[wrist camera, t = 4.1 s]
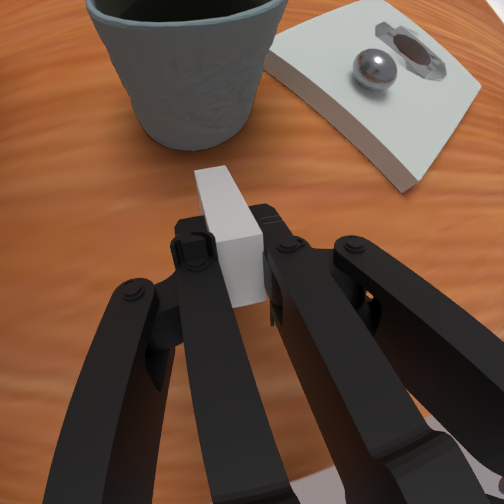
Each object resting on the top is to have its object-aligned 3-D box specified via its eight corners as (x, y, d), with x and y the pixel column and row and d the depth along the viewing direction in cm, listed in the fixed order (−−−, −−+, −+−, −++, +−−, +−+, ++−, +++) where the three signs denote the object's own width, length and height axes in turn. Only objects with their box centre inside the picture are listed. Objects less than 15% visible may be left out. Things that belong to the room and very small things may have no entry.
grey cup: (276, 144, 22) (329, 15, 10) (135, 179, 20) (78, 53, 9) (236, 52, 24) (255, -65, 12) (119, 77, 22) (89, -40, 10)
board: (401, 193, 23) (418, 181, 20) (255, 63, 23) (259, 43, 21) (469, 96, 27) (481, 85, 25) (369, 8, 28) (376, -5, 26)
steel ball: (372, 106, 21) (393, 79, 18) (337, 76, 21) (354, 47, 18) (392, 89, 22) (411, 64, 18) (360, 62, 22) (376, 35, 19)
